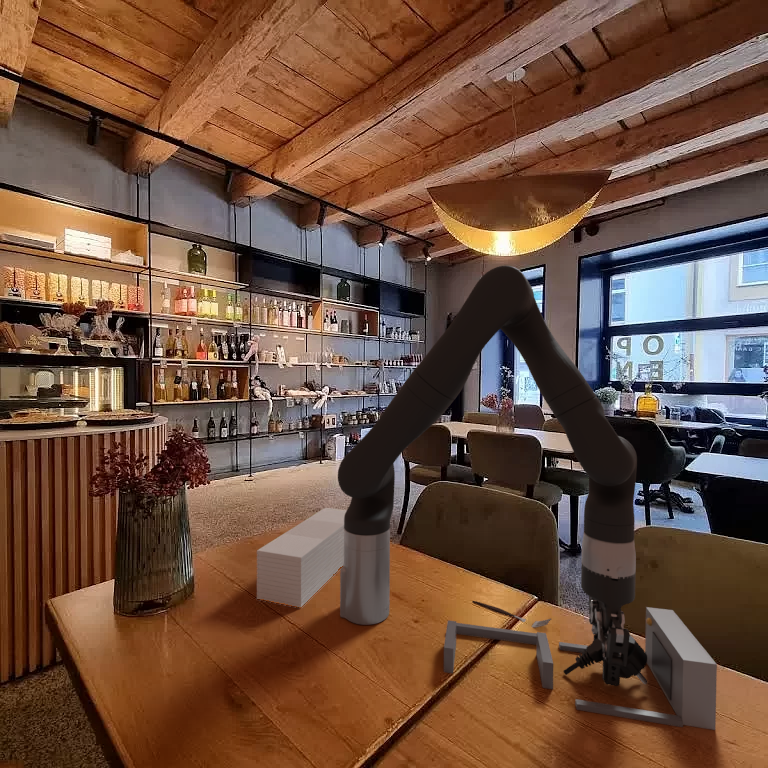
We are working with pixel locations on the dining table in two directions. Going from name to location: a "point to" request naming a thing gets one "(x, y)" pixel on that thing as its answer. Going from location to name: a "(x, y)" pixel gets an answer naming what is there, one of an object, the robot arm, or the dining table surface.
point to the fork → (536, 623)
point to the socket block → (670, 674)
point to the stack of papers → (302, 559)
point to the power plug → (634, 658)
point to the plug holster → (501, 634)
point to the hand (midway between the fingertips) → (605, 670)
